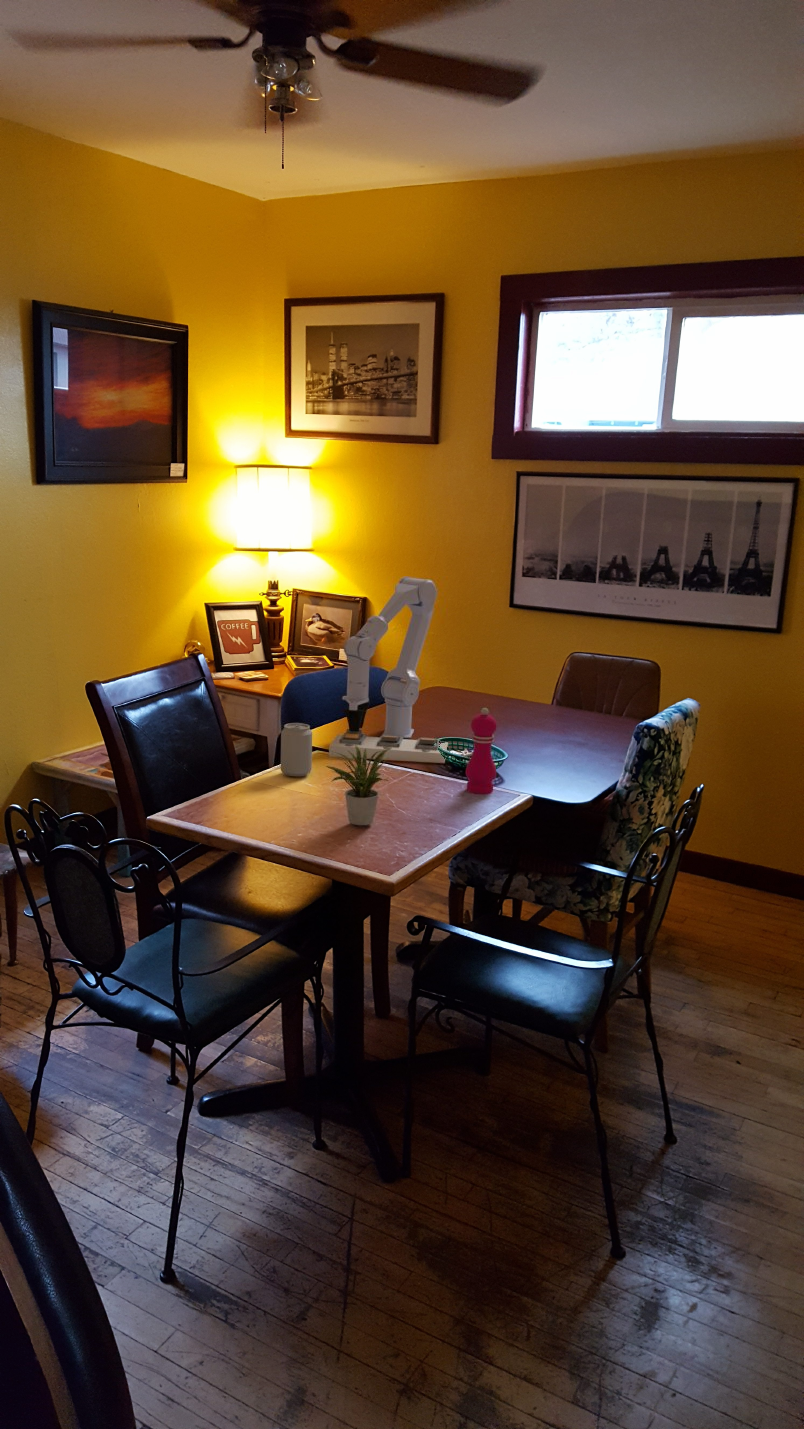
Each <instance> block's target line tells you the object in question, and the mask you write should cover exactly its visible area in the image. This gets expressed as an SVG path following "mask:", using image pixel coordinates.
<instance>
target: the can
mask: <svg viewBox="0 0 804 1429" xmlns="http://www.w3.org/2000/svg"><path fill="white" fill-rule="evenodd" d="M310 728H311V726H310V725H309V724H306V723H302V722H301V723H300V722H292V723H291V722H290V723H286V724H284V725H283V729H282V730H281V731H280V732H281V734H280V771H281V772H282V773H283V774H284V775H285V776H287V777H304V776H306V775H309V773H311V771H312V767H313V766H312V759H313V757H312V756H313V755H312V754H313V732H312V729H310Z"/></svg>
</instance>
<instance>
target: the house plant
mask: <svg viewBox="0 0 804 1429" xmlns="http://www.w3.org/2000/svg"><path fill="white" fill-rule="evenodd" d="M355 747H356V753H357V758H356V757H355V756H354V755H353V754H352V753H351V752H350V751H349V753H350V754H351V755H352V756H353V758H352V759H354V762H355V765H354V764H353V762H352V760H350V758H347V757H346V756H344V755H342V754H340V753H337V754H339V755H341V756H343V757H339V756H338V757H335V759H337V760H339V761H341V762H343V763H344V764H345V765H346V766H347V768H349V770H350V771H348V772H347V771H345V770H343V769H341V768H338V767H335V766H331V765H330V766H329V765H325V767H326V768H328V769H330V770H331V772H332V773H336V774H337V775H338V776H336V777H334V778H333V779H332V780H331V783H332V782H335V781H337V780H344V781H345V782H346V783H347V784H348V785H349V787H351V788H350V789H347V790H345V792H344V796H345V802H346V811H347V818H348V819H347V820H348V822H349V823H350V824H352V825H355V826H368V825H371V824H373V822H374V818H375V813H376V809H377V805H378V804H377V803H378V800H379V799H378V798H379V791H377V790H375V789H372V788H373V787H374V785H375V784H376V783H378V782H380V781H387V783H390V781H389V780H388V779H385V778H382V777H380V776H381V775H383V776H385V774H384V773H383V772H382V773H381V772H378V771H379V769H380V768H381V767H382V766H383V765H384V764H385V763H386V761H388V760H387V759H386V760H384V761H383V760H382V758H383V757H384V756H385V755H384V754H385V752H386V751H388V750H390V749H386V750H384V751H382V752H381V751H378V752H381V753H380V754H379V755H378V756H377V757H376V758H375V759H372V758H373V757H374V756H375V755H376V754H377V753H378V752H376V753H374V754H373V755H372V757H371V759H369V761H368V764H367V760H368V759H367V752H366V749H365V750H364V756H363V758H361V752H360V750H359V748H358V747H357V746H356V745H355ZM391 749H392V748H391ZM331 752H332V751H331ZM334 753H336V752H334ZM383 755H384V756H383ZM381 757H382V758H381ZM340 758H341V759H340ZM380 758H381V759H380ZM342 759H343V760H345V761H343V760H342ZM372 760H373V762H372ZM381 761H383V762H382V763H381ZM371 762H372V764H371ZM380 763H381V764H380ZM370 765H371V767H370ZM352 768H353V769H354V770H353V769H352ZM369 768H370V770H369ZM368 770H369V773H368Z"/></svg>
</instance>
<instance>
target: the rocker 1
mask: <svg viewBox="0 0 804 1429" xmlns="http://www.w3.org/2000/svg"><path fill="white" fill-rule="evenodd" d="M344 733H345V736H344V740H358V741H359V740H360V738H361V735H362V734H363V730H362V729H359V731H349V728H347V729H346V732H344Z"/></svg>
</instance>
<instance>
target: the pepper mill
mask: <svg viewBox="0 0 804 1429" xmlns="http://www.w3.org/2000/svg"><path fill="white" fill-rule="evenodd" d="M497 724H498V723H497V720H496V718H495V717H494V716H492V715H490V714H489V709H488V708H486V707H483V708H481V710H480V714H477V715H475V716H474V717H473V718H472V719H471V723H470V728H471V731H472V733H473V734H472V738H471V739H472V741H473V745H474V746H473V752H472V754H471V756H472V757H471V759H470V758H469V760H468V762H467V765H466V767H465V777H467V779H468V781H467V782H466V790H467V792H469V793H471V792H472V793H471V794H476V795H486V794H487V795H488V794H491V793H493V791H494V783H493V781H494V780H495V779H496V777H497V768H496V764H495V762H494V760H493V756H492V752H491V751H492V743H493V742H494V738H495V735H494V733H495V732H496V731H497V727H498V725H497Z"/></svg>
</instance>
